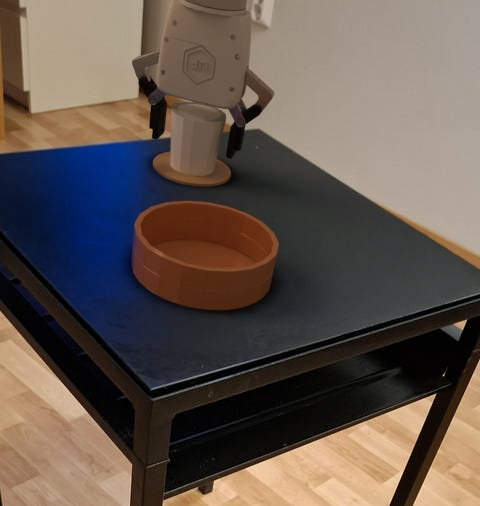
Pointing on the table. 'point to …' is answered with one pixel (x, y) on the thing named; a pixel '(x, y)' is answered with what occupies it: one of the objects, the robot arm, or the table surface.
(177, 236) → the pan
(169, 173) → the coaster
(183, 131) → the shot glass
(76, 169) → the table surface
